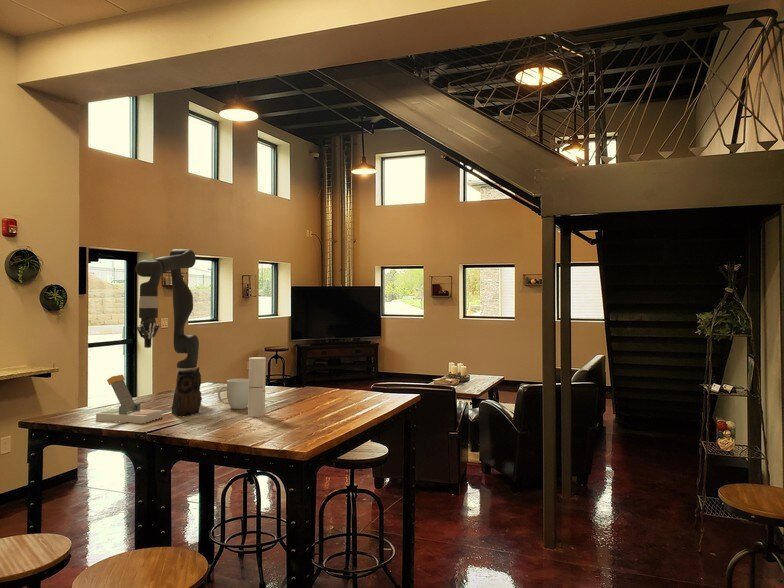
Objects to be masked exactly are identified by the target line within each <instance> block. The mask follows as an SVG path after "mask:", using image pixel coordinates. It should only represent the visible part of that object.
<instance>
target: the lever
mask: <svg viewBox="0 0 784 588" xmlns="http://www.w3.org/2000/svg"><path fill="white" fill-rule="evenodd" d="M125 380H126V379H125V376H124V374H118V375H113V376H111V377H108V379H106V381H107V383H108V385H109V386H111V388H112V390H113V392H114V393H115V396H116V398H117V400H118V403H119V404H120V406H128V407H127V412H130V411H133V410H136V409H137V405H135V403H136V402H135V401H134V399H133V397H132V394H131V392H130V391H129V388H128V386H127V384H126V383H125Z"/></svg>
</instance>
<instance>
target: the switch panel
mask: <svg viewBox="0 0 784 588" xmlns="http://www.w3.org/2000/svg"><path fill="white" fill-rule="evenodd" d="M134 403H135V405H137V409H136V410H133V411H130V412H127V407H128V406H121V405H120V406H118V408H116V407H115V408H110V409H107V410H103V411H100V412H97V413H95V421H96V422H107V421H120V422H119V423H125V422H133V423H132V424H143V423H145V424H147V423H146V422H148V423H150V422H149V421H151V422H153V421H152V420H154V421H156V420H155V419H157V420H159V419H158V418H160V419H162V418H163V410H157V409H141V404H142V403H141V402H134ZM161 417H162V418H161Z"/></svg>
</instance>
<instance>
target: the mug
mask: <svg viewBox="0 0 784 588" xmlns="http://www.w3.org/2000/svg"><path fill="white" fill-rule="evenodd" d="M248 388H249V378H229V379H227V380H226V385H223V386H221V387H220V388H219V390H218V393H217V397H218V398H217V399H219V402H221V403H222V404H225V405H229V407H230V409H232V410H244V409H246V408H248ZM223 389H226V397H227V401H224V400H223V399H222V397H221V392H222V390H223Z"/></svg>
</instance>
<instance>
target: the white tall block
mask: <svg viewBox="0 0 784 588" xmlns="http://www.w3.org/2000/svg"><path fill="white" fill-rule="evenodd" d="M266 367H267V358H266V357H264V356H263V357H261V356H259V357H255V356H254V357H253V356H252V357H249V358H248V379H249V388H248V405H247V416H248V417H251V418H260V417H264V416H266V413H265V412H266V372H267V371H266V370H267V369H266Z"/></svg>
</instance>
